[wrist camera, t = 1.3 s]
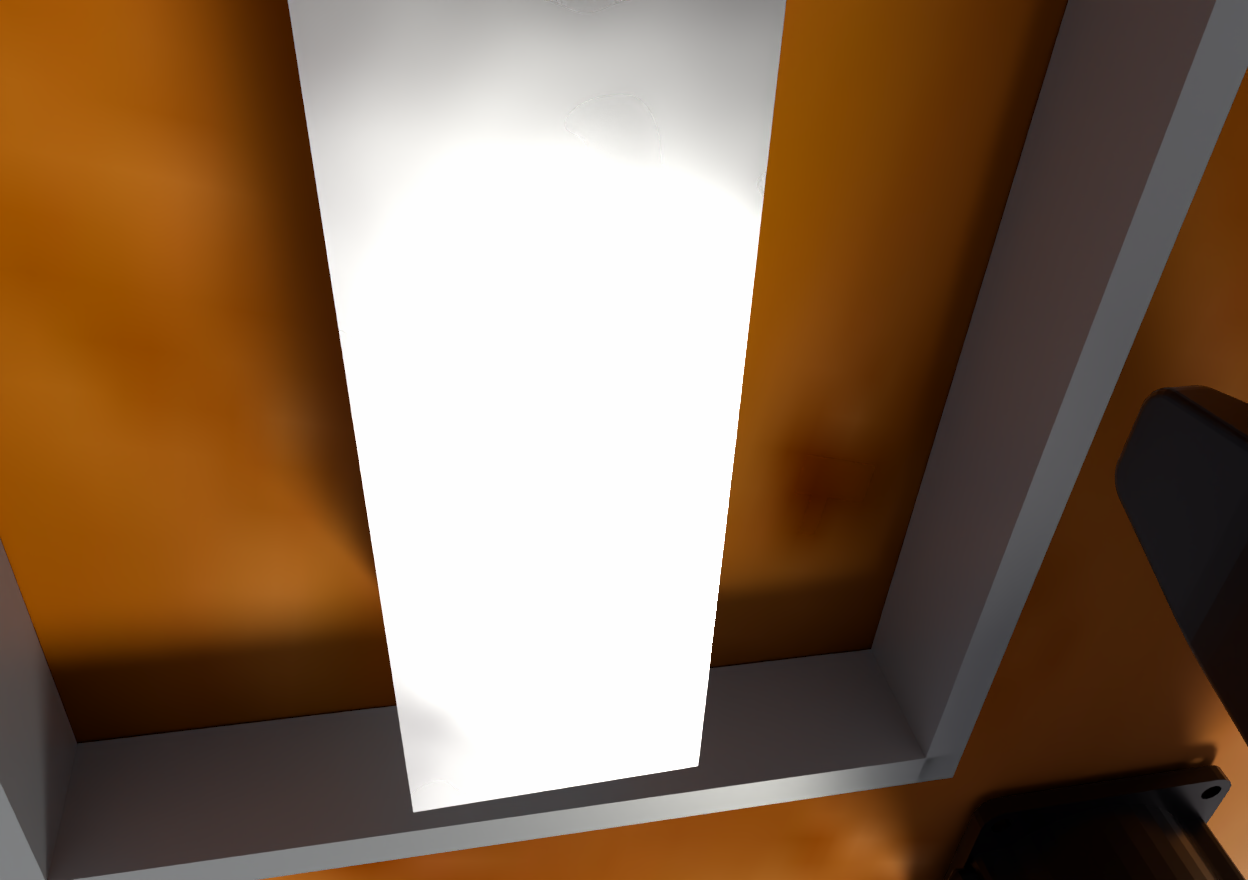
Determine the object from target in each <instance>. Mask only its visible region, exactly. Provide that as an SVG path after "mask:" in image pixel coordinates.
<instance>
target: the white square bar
mask: <svg viewBox="0 0 1248 880" xmlns="http://www.w3.org/2000/svg"><path fill="white" fill-rule="evenodd" d="M288 5H289V12H290V18H291V25H292V31H293V38H294V44H295V51H296V57H297V63H298V70H299V76H300V83H301V89H302V96H303V102H304V109H305V115H306V122H307V128H308V135H309V141H310V147H311V154H312V160H313V167H314V173H315V180H316V186H317V193H318V199H319V206H320V212H321V219H322V225H323V231H324V238H325V244H326V251H327V257H328V264H329V270H330V277H331V283H332V290H333V296H334V303H335V309H336V316H337V322H338V328H339V335H340V341H341V348H342V354H343V361H344V367H345V374H346V380H347V387H348V393H349V400H350V406H351V412H352V419H353V425H354V432H355V438H356V445H357V451H358V458H359V464H360V471H361V477H362V484H363V490H364V496H365V503H366V509H367V516H368V522H369V529H370V535H371V542H372V548H373V555H374V561H375V568H376V574H377V580H378V587H379V593H380V600H381V606H382V613H383V619H384V626H385V632H386V639H387V645H388V652H389V658H390V665H391V671H392V677H393V684H394V690H395V697H396V703H397V710H398V716H399V723H400V729H401V736H402V742H403V749H404V755H405V761H406V768H407V774H408V781H409V787H410V794H411V800H412V807H413V812H419V811H425V810H431V809H437V808H443V807H450V806H456V805H462V804H468V803H474V802H480V801H486V800H492V799H498V798H505V797H511V796H517V795H523V794H529V793H535V792H541V791H547V790H553V789H560V788H566V787H572V786H578V785H584V784H590V783H596V782H602V781H609V780H615V779H621V778H627V777H633V776H639V775H645V774H651V773H657V772H664V771H670V770H676V769H682V768H688V767H694V766H698V760H699V751H700V743H701V734H702V725H703V717H704V708H705V699H706V691H707V682H708V673H709V665H710V656H711V647H712V639H713V630H714V621H715V613H716V604H717V596H718V587H719V578H720V570H721V561H722V552H723V544H724V535H725V526H726V518H727V509H728V500H729V492H730V483H731V474H732V466H733V457H734V448H735V440H736V431H737V422H738V414H739V405H740V396H741V388H742V379H743V370H744V362H745V353H746V344H747V336H748V327H749V318H750V310H751V301H752V292H753V284H754V275H755V266H756V258H757V249H758V240H759V232H760V223H761V215H762V206H763V197H764V189H765V180H766V171H767V163H768V154H769V145H770V137H771V128H772V119H773V111H774V102H775V93H776V85H777V76H778V67H779V59H780V50H781V41H782V33H783V24H784V15H785V7H786V0H288Z"/></svg>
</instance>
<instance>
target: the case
mask: <svg viewBox="0 0 1248 880" xmlns="http://www.w3.org/2000/svg"><path fill="white" fill-rule="evenodd" d="M1247 67H1248V0H1068V3H1067V6H1066V10H1065V13H1064V16H1063V19H1062V23H1061V26H1060V29H1059V33H1058V36H1057V39H1056V42H1055V46H1054V49H1053V52H1052V56H1051V59H1050V62H1049V65H1048V69H1047V72H1046V75H1045V79H1044V82H1043V85H1042V88H1041V92H1040V95H1039V98H1038V102H1037V105H1036V108H1035V111H1034V115H1033V118H1032V121H1031V125H1030V128H1029V131H1028V134H1027V138H1026V141H1025V144H1024V148H1023V151H1022V154H1021V158H1020V161H1019V164H1018V167H1017V171H1016V174H1015V177H1014V181H1013V184H1012V187H1011V190H1010V194H1009V197H1008V200H1007V204H1006V207H1005V210H1004V213H1003V217H1002V220H1001V223H1000V227H999V230H998V233H997V236H996V240H995V243H994V246H993V250H992V253H991V256H990V259H989V263H988V266H987V269H986V273H985V276H984V279H983V282H982V286H981V289H980V292H979V296H978V299H977V302H976V305H975V309H974V312H973V315H972V319H971V322H970V325H969V329H968V332H967V335H966V338H965V342H964V345H963V348H962V352H961V355H960V358H959V361H958V365H957V368H956V371H955V375H954V378H953V381H952V384H951V388H950V391H949V394H948V398H947V401H946V404H945V407H944V411H943V414H942V417H941V421H940V424H939V427H938V430H937V434H936V437H935V440H934V444H933V447H932V450H931V453H930V457H929V460H928V463H927V467H926V470H925V473H924V476H923V480H922V483H921V486H920V490H919V493H918V496H917V500H916V503H915V506H914V509H913V513H912V516H911V519H910V523H909V526H908V529H907V532H906V536H905V539H904V542H903V546H902V549H901V552H900V555H899V559H898V562H897V565H896V569H895V572H894V575H893V578H892V582H891V585H890V588H889V592H888V595H887V598H886V601H885V605H884V608H883V611H882V615H881V618H880V621H879V624H878V628H877V631H876V634H875V638H874V641H873V644H872V647H871V649H869V650H861V651H852V652H844V653H835V654H827V655H819V656H810V657H802V658H793V659H785V660H777V661H768V662H760V663H751V664H743V665H734V666H726V667H718V668H709V673H708V682H707V691H706V699H705V708H704V717H703V725H702V734H701V743H700V751H699V760H698V766H694V767H688V768H682V769H676V770H670V771H664V772H657V773H651V774H645V775H639V776H633V777H627V778H621V779H615V780H609V781H602V782H596V783H590V784H584V785H578V786H572V787H566V788H560V789H553V790H547V791H541V792H535V793H529V794H523V795H517V796H511V797H505V798H498V799H492V800H486V801H480V802H474V803H468V804H462V805H456V806H450V807H443V808H437V809H431V810H425V811H419V812H413V807H412V800H411V794H410V787H409V781H408V774H407V768H406V761H405V755H404V749H403V742H402V736H401V729H400V723H399V716H398V710H397V706H389V707H381V708H373V709H364V710H356V711H347V712H339V713H330V714H322V715H314V716H305V717H297V718H288V719H280V720H272V721H263V722H255V723H246V724H238V725H229V726H221V727H213V728H204V729H196V730H187V731H179V732H171V733H162V734H154V735H145V736H137V737H128V738H120V739H112V740H103V741H95V742H86V743H78V744H77V741H76V739H75V736H74V733H73V731H72V728H71V725H70V723H69V720H68V717H67V715H66V712H65V709H64V707H63V704H62V701H61V699H60V696H59V693H58V691H57V688H56V685H55V683H54V680H53V677H52V675H51V672H50V670H49V667H48V664H47V662H46V659H45V656H44V654H43V651H42V648H41V646H40V643H39V640H38V638H37V635H36V632H35V630H34V627H33V624H32V622H31V619H30V616H29V614H28V611H27V608H26V606H25V603H24V600H23V598H22V595H21V592H20V590H19V587H18V584H17V582H16V579H15V576H14V574H13V571H12V568H11V566H10V563H9V561H8V558H7V555H6V553H5V550H4V547H3V545H2V542H1V539H0V880H258V879H265V878H272V877H278V876H285V875H292V874H299V873H306V872H312V871H319V870H326V869H333V868H340V867H346V866H353V865H360V864H367V863H374V862H380V861H387V860H394V859H401V858H408V857H415V856H421V855H428V854H435V853H442V852H449V851H455V850H462V849H469V848H476V847H483V846H489V845H496V844H503V843H510V842H517V841H523V840H530V839H537V838H544V837H551V836H557V835H564V834H571V833H578V832H585V831H591V830H598V829H605V828H612V827H619V826H625V825H632V824H639V823H646V822H653V821H659V820H666V819H673V818H680V817H687V816H694V815H700V814H707V813H714V812H721V811H728V810H734V809H741V808H748V807H755V806H762V805H768V804H775V803H782V802H789V801H796V800H802V799H809V798H816V797H823V796H830V795H836V794H843V793H850V792H857V791H864V790H870V789H877V788H884V787H891V786H898V785H904V784H911V783H918V782H925V781H932V780H939V779H945V778H952V777H953V776H954V773H955V771H956V768H957V766H958V763H959V761H960V759H961V756H962V754H963V751H964V749H965V747H966V744H967V742H968V739H969V737H970V735H971V732H972V730H973V727H974V725H975V723H976V720H977V718H978V715H979V713H980V710H981V708H982V706H983V703H984V701H985V698H986V696H987V694H988V691H989V689H990V686H991V684H992V682H993V679H994V677H995V674H996V672H997V669H998V667H999V665H1000V662H1001V660H1002V657H1003V655H1004V653H1005V650H1006V648H1007V645H1008V643H1009V641H1010V638H1011V636H1012V633H1013V631H1014V628H1015V626H1016V624H1017V621H1018V619H1019V616H1020V614H1021V612H1022V609H1023V607H1024V604H1025V602H1026V600H1027V597H1028V595H1029V592H1030V590H1031V587H1032V585H1033V583H1034V580H1035V578H1036V575H1037V573H1038V571H1039V568H1040V566H1041V563H1042V561H1043V559H1044V556H1045V554H1046V551H1047V549H1048V547H1049V544H1050V542H1051V539H1052V537H1053V534H1054V532H1055V530H1056V527H1057V525H1058V522H1059V520H1060V518H1061V515H1062V513H1063V510H1064V508H1065V506H1066V503H1067V501H1068V498H1069V496H1070V493H1071V491H1072V489H1073V486H1074V484H1075V481H1076V479H1077V477H1078V474H1079V472H1080V469H1081V467H1082V465H1083V462H1084V460H1085V457H1086V455H1087V452H1088V450H1089V448H1090V445H1091V443H1092V440H1093V438H1094V436H1095V433H1096V431H1097V428H1098V426H1099V424H1100V421H1101V419H1102V416H1103V414H1104V412H1105V409H1106V407H1107V404H1108V402H1109V399H1110V397H1111V395H1112V392H1113V390H1114V387H1115V385H1116V383H1117V380H1118V378H1119V375H1120V373H1121V371H1122V368H1123V366H1124V363H1125V361H1126V358H1127V356H1128V354H1129V351H1130V349H1131V346H1132V344H1133V342H1134V339H1135V337H1136V334H1137V332H1138V330H1139V327H1140V325H1141V322H1142V320H1143V317H1144V315H1145V313H1146V310H1147V308H1148V305H1149V303H1150V301H1151V298H1152V296H1153V293H1154V291H1155V289H1156V286H1157V284H1158V281H1159V279H1160V277H1161V274H1162V272H1163V269H1164V267H1165V264H1166V262H1167V260H1168V257H1169V255H1170V252H1171V250H1172V248H1173V245H1174V243H1175V240H1176V238H1177V236H1178V233H1179V231H1180V228H1181V226H1182V223H1183V221H1184V219H1185V216H1186V214H1187V211H1188V209H1189V207H1190V204H1191V202H1192V199H1193V197H1194V195H1195V192H1196V190H1197V187H1198V185H1199V182H1200V180H1201V178H1202V175H1203V173H1204V170H1205V168H1206V166H1207V163H1208V161H1209V158H1210V156H1211V154H1212V151H1213V149H1214V146H1215V144H1216V142H1217V139H1218V137H1219V134H1220V132H1221V129H1222V127H1223V125H1224V122H1225V120H1226V117H1227V115H1228V113H1229V110H1230V108H1231V105H1232V103H1233V101H1234V98H1235V96H1236V93H1237V91H1238V88H1239V86H1240V84H1241V81H1242V79H1243V76H1244V74H1245V72H1246V69H1247Z"/></svg>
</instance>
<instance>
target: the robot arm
mask: <svg viewBox="0 0 1248 880" xmlns="http://www.w3.org/2000/svg"><path fill="white" fill-rule="evenodd" d="M1115 485H1116V490H1117V494H1118V496H1119V499H1120V501H1121V503H1122V505H1123V507H1124V509H1125V512H1126V514H1127V516H1128V518H1129V520H1130V522H1131V524H1132V527H1133V529H1134V531H1135V533H1136V535H1137V537H1138V539H1139V542H1140V544H1141V546H1142V548H1143V550H1144V552H1145V554H1146V557H1147V559H1148V561H1149V563H1150V565H1151V567H1152V570H1153V572H1154V574H1155V576H1156V578H1157V580H1158V582H1159V585H1160V587H1161V589H1162V591H1163V593H1164V595H1165V597H1166V600H1167V602H1168V604H1169V606H1170V608H1171V610H1172V612H1173V615H1174V617H1175V619H1176V621H1177V623H1178V625H1179V627H1180V629H1181V631H1182V633H1183V635H1184V637H1185V639H1186V641H1187V643H1188V645H1189V647H1190V649H1191V651H1192V652H1193V654H1194V656H1195V658H1196V659H1197V661H1198V663H1199V665H1200V667H1201V668H1202V670H1203V672H1204V674H1205V675H1206V677H1207V679H1208V680H1209V682H1210V684H1211V685H1212V687H1213V689H1214V690H1215V692H1216V694H1217V695H1218V697H1219V699H1220V700H1221V702H1222V704H1223V705H1224V707H1225V709H1226V710H1227V712H1228V714H1229V716H1230V717H1231V719H1232V721H1233V722H1234V724H1235V726H1236V727H1237V729H1238V731H1239V732H1240V734H1241V736H1242V737H1243V739H1244V741H1245V742H1246V744H1247V746H1248V403H1245V402H1243V401H1241V400H1238V399H1236V398H1233V397H1231V396H1229V395H1226V394H1224V393H1221V392H1219V391H1217V390H1214V389H1212V388H1209V387H1205V386H1198V385H1196V386H1181V387H1167V388H1161V389H1158V390H1156V391H1153V392H1152V393H1151V394H1150V395H1149V396H1148V397H1147V398H1146V399H1145V401H1144V403H1143V404H1142V407H1141V409H1140V411H1139V413H1138V416H1137V418H1136V420H1135V423H1134V425H1133V427H1132V430H1131V432H1130V434H1129V436H1128V439H1127V441H1126V443H1125V446H1124V448H1123V450H1122V453H1121V455H1120V457H1119V459H1118V462H1117V465H1116V470H1115ZM1230 787H1231V783H1230V781H1229V779H1228V778H1227V777H1226V775H1225V774H1224V773H1223V771H1222V770H1221V769H1220V767H1218V766H1215V765H1213V766H1203V767H1196V768H1190V769H1183V770H1177V771H1170V772H1164V773H1157V774H1150V775H1144V776H1137V777H1131V778H1124V779H1118V780H1111V781H1105V782H1098V783H1091V784H1085V785H1078V786H1072V787H1065V788H1059V789H1052V790H1046V791H1039V792H1032V793H1026V794H1019V795H1013V796H1006V797H1000V798H996V799H992V800H989V801H987V802H985V803H983V804H982V805H981V806H979V807H978V808H977V809H976V810H975V812H974V813H973V815H972V817H971V820H970V822H969V824H968V826H967V829H966V831H965V833H964V835H963V837H962V840H961V842H960V844H959V846H958V849H957V851H956V853H955V855H954V858H953V860H952V862H951V864H950V866H949V869H948V871H947V873H946V875H945V878H944V880H1245V878H1244V877H1243V875H1242V874H1241V873H1240V871H1239V870H1238V868H1237V867H1236V865H1235V864H1234V863H1233V861H1232V860H1231V858H1230V857H1229V855H1228V854H1227V853H1226V851H1225V850H1224V848H1223V847H1222V845H1221V844H1220V843H1219V841H1218V840H1217V838H1216V837H1215V835H1214V834H1213V833H1212V831H1211V830H1210V828H1209V827H1208V826H1207V822H1208V821H1209V819H1210V818H1211V816H1212V815H1213V813H1214V812H1215V810H1216V809H1217V807H1218V806H1219V804H1220V803H1221V801H1222V800H1223V798H1224V797H1225V795H1226V794H1227V792H1228V791H1229V789H1230Z"/></svg>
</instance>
